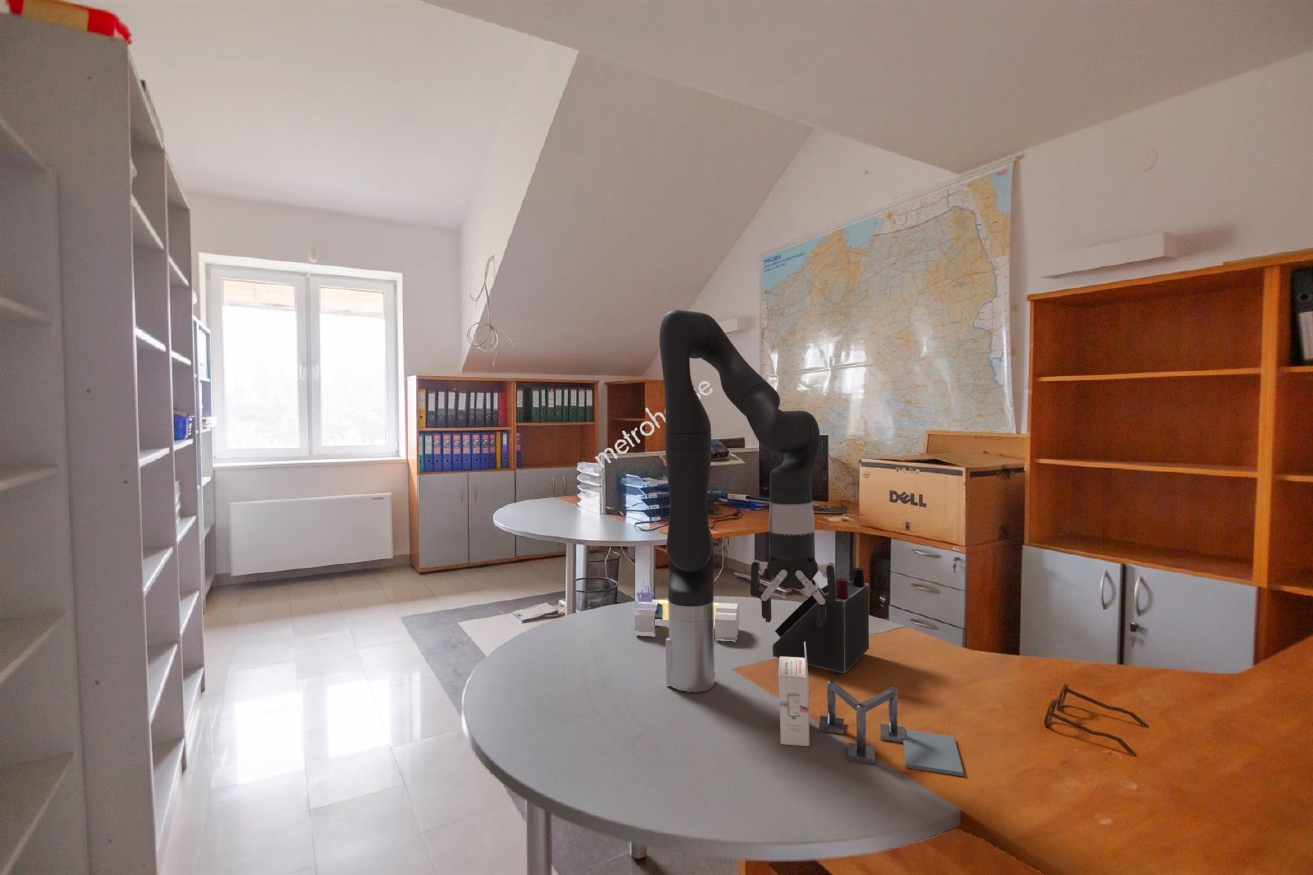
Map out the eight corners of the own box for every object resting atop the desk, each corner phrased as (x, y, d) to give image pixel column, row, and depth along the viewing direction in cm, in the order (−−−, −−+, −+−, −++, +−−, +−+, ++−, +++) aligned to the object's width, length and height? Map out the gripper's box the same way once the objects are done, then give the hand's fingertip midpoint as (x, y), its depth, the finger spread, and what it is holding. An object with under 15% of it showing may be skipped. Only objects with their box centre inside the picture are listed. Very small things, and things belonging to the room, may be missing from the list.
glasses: (1061, 705, 115) (1061, 679, 115) (1150, 730, 106) (1150, 701, 106) (1042, 731, 106) (1042, 702, 106) (1137, 760, 97) (1138, 729, 97)
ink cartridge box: (779, 720, 111) (778, 638, 110) (807, 722, 110) (807, 640, 109) (779, 745, 102) (778, 657, 102) (810, 747, 101) (809, 658, 101)
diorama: (634, 638, 153) (633, 586, 153) (644, 625, 164) (643, 576, 163) (736, 645, 148) (735, 590, 148) (739, 630, 158) (738, 579, 158)
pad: (905, 767, 95) (905, 763, 95) (902, 732, 106) (902, 729, 105) (963, 776, 93) (963, 772, 92) (953, 739, 103) (953, 736, 103)
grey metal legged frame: (815, 755, 99) (814, 705, 99) (820, 720, 110) (820, 675, 110) (909, 769, 94) (909, 718, 94) (905, 731, 106) (905, 685, 106)
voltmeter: (800, 640, 150) (799, 558, 149) (868, 655, 140) (868, 567, 140) (771, 662, 137) (770, 572, 136) (844, 680, 127) (844, 583, 126)
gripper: (745, 531, 104) (748, 627, 104) (834, 533, 99) (836, 634, 100) (753, 523, 111) (755, 613, 111) (836, 525, 106) (838, 619, 107)
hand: (793, 622), depth 106 cm, fingers open, 8 cm apart
